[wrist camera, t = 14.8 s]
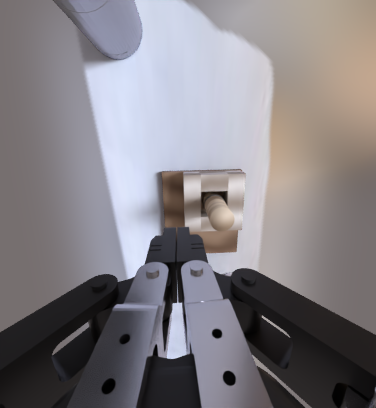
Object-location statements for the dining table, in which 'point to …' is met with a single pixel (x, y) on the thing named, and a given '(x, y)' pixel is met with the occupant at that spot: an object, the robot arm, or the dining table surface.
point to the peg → (218, 211)
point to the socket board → (194, 208)
